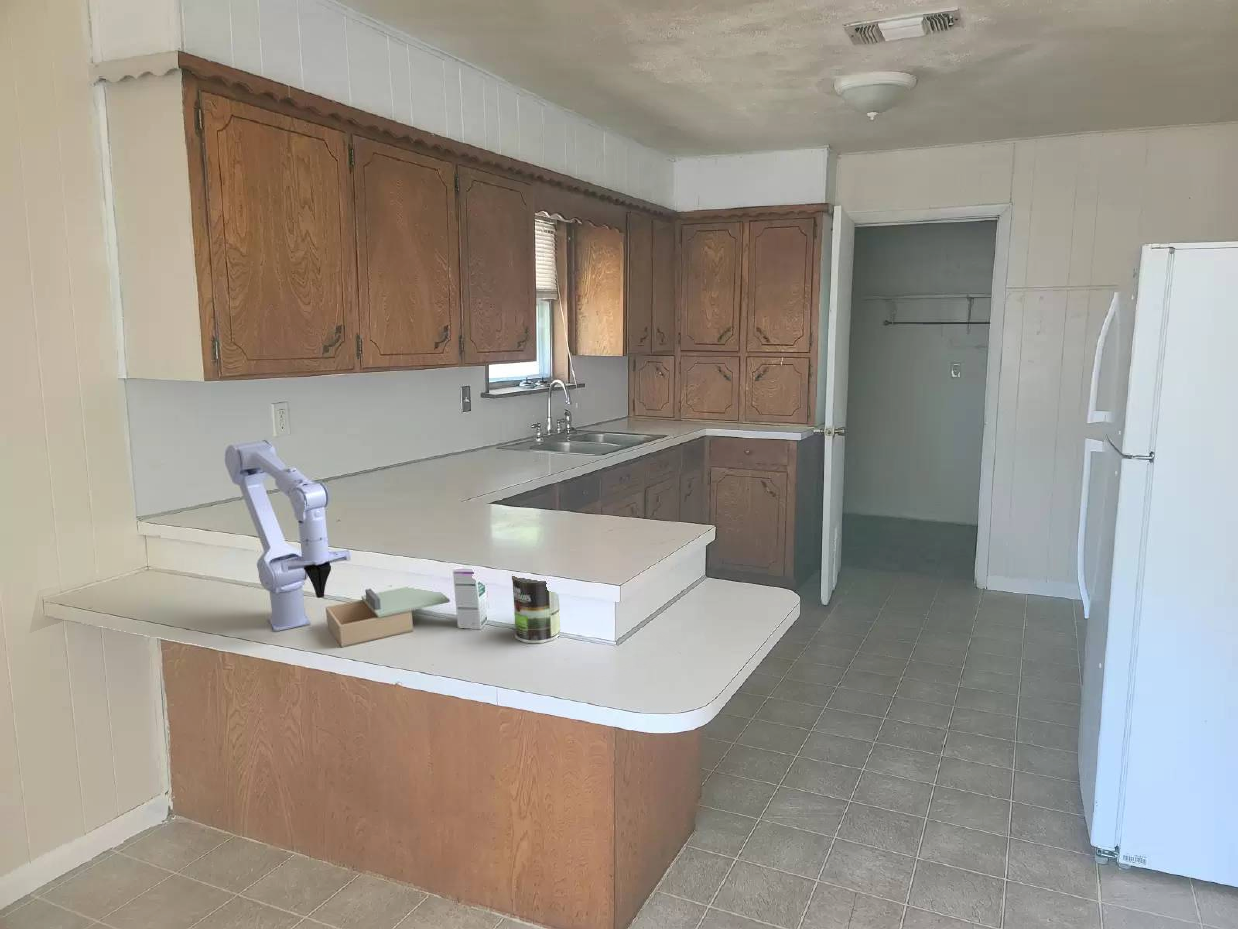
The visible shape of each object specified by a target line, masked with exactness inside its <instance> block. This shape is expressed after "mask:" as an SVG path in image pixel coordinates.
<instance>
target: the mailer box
mask: <svg viewBox="0 0 1238 929" xmlns="http://www.w3.org/2000/svg"><path fill="white" fill-rule="evenodd" d="M412 611H413V610H411V611H406V612H402V613H397V614H392V615H388V616H383V617H379V618H378V617H377V615H376V614H375V613H374V612H373V611H372V610H371V609H370V607H369V606H368V605H367V604H366V603H365V602H364V601H363V599H359V600H355V601H350V602H344V603H339V604H334V605H330V606H325V614H326V615H325V616H326V623H327V625H326V626H327V629H328V630H329V632H330V633H331V634H332V635H333V637H334V639H335V640H336V641H337V643H338V644H339V646H340V647H341V648H342V647H343V648H346V647H350V646H356V645H360V644H364V643H369V642H373V641H378V640H382V639H386V638H390V637H395V636H399V635H405V634H407V633H413V632H414V623H413V614H412Z"/></svg>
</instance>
